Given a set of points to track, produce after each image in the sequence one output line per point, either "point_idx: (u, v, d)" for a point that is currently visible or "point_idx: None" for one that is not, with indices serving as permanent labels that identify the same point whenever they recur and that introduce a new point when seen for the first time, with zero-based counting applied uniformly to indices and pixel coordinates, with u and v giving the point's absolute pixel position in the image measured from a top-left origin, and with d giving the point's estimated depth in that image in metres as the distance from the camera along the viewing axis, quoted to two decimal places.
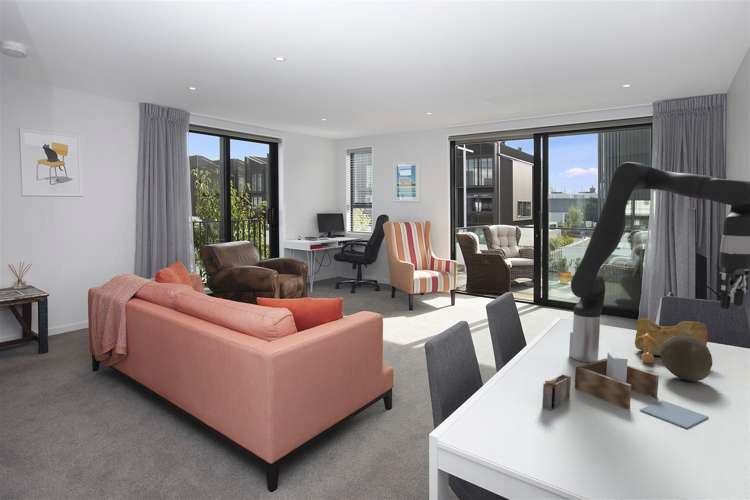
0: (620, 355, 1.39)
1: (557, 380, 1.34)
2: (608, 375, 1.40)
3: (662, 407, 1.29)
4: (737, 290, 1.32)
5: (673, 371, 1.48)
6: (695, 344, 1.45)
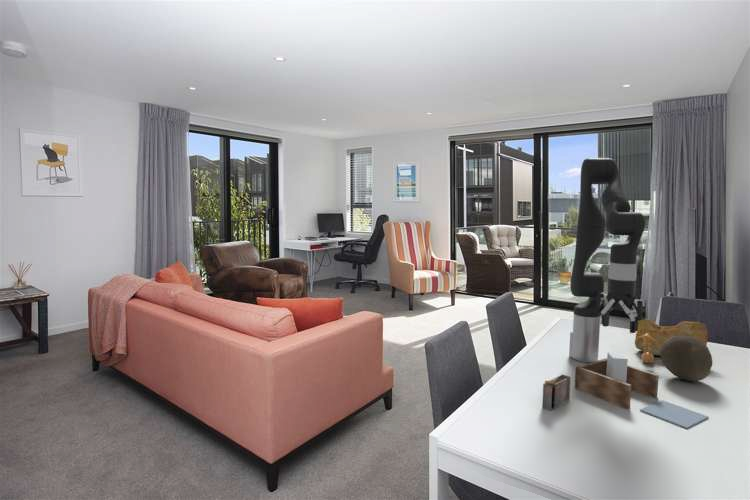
0: (620, 355, 1.39)
1: (557, 380, 1.34)
2: (608, 375, 1.40)
3: (662, 407, 1.29)
4: (606, 313, 1.41)
5: (673, 371, 1.48)
6: (695, 344, 1.45)
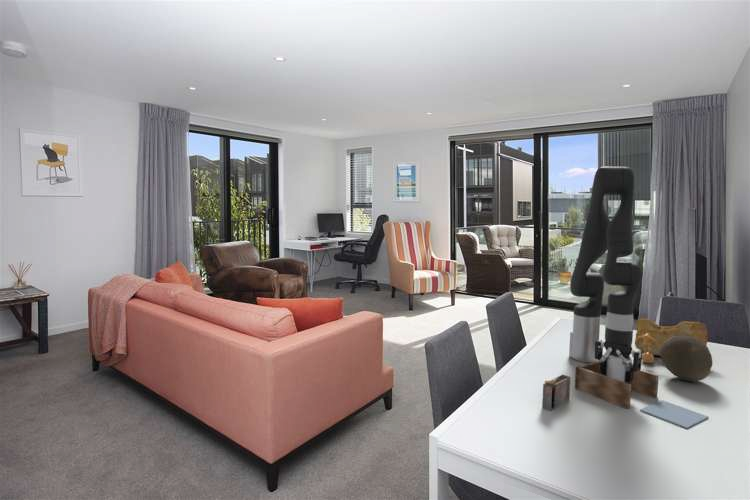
0: None
1: (557, 380, 1.33)
2: (608, 374, 1.40)
3: (662, 407, 1.29)
4: (604, 361, 1.42)
5: (673, 371, 1.48)
6: (695, 344, 1.45)
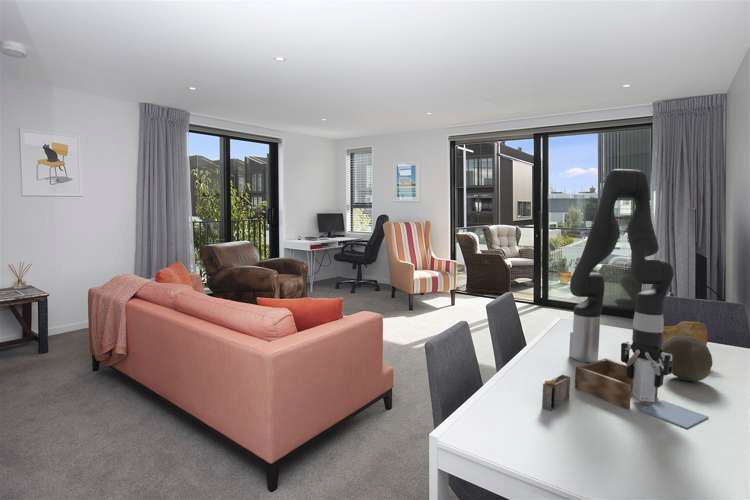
0: None
1: (557, 380, 1.33)
2: (635, 378, 1.33)
3: (662, 407, 1.29)
4: (631, 364, 1.34)
5: (673, 371, 1.48)
6: (695, 344, 1.45)
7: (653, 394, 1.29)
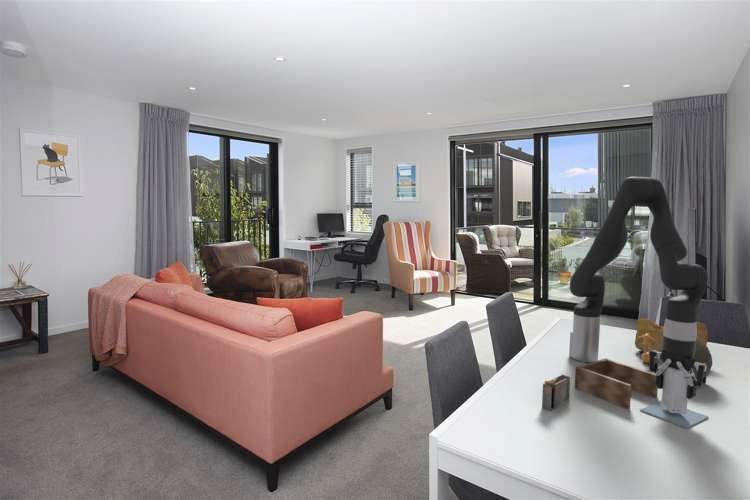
0: None
1: (557, 380, 1.33)
2: (666, 389, 1.26)
3: (662, 407, 1.29)
4: (661, 374, 1.27)
5: None
6: None
7: (685, 406, 1.22)
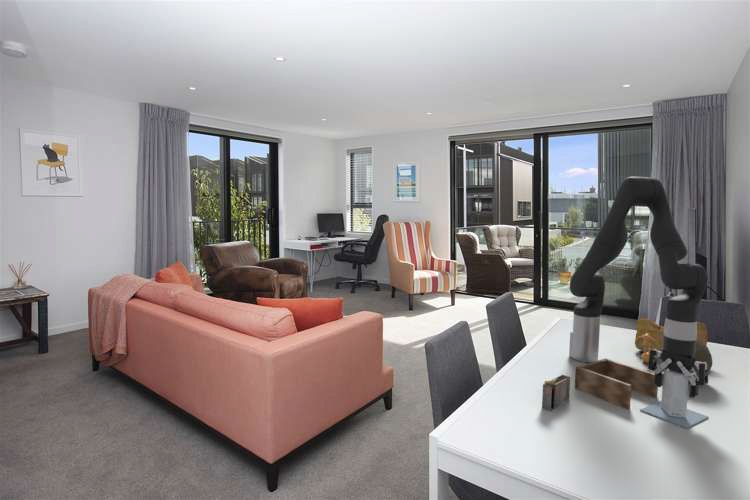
0: None
1: (557, 380, 1.33)
2: (665, 392, 1.26)
3: None
4: (660, 372, 1.28)
5: None
6: None
7: (684, 409, 1.22)
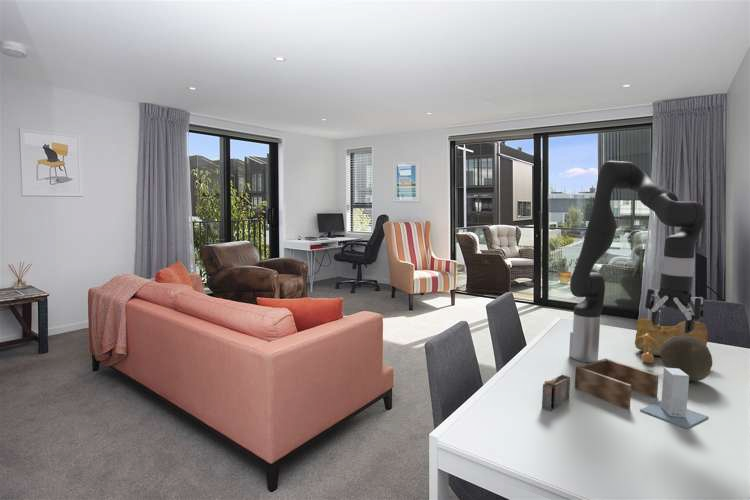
0: (679, 371, 1.25)
1: (557, 380, 1.33)
2: (665, 392, 1.26)
3: None
4: (656, 310, 1.30)
5: None
6: (695, 344, 1.45)
7: (684, 409, 1.22)
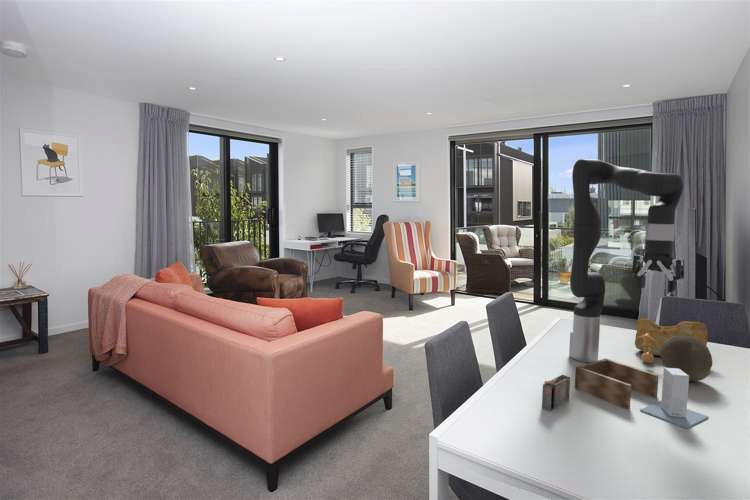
0: (679, 371, 1.25)
1: (556, 380, 1.33)
2: (665, 392, 1.26)
3: None
4: (642, 274, 1.42)
5: None
6: (695, 344, 1.45)
7: (684, 409, 1.22)
